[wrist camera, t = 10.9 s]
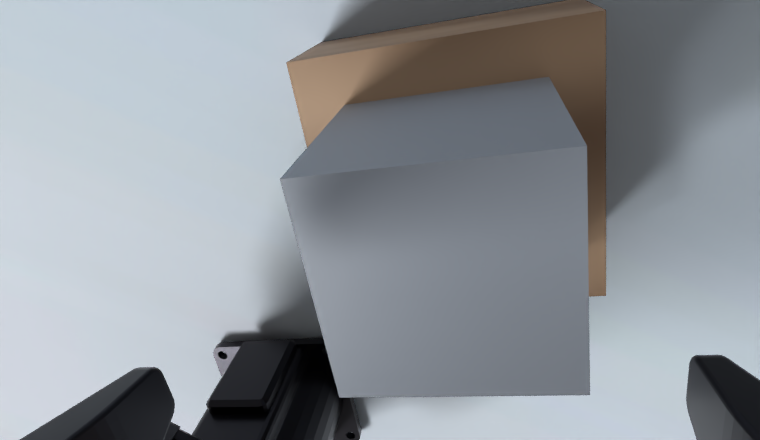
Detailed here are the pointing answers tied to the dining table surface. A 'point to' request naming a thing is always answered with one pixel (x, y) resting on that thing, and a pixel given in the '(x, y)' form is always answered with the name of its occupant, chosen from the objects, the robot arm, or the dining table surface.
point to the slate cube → (449, 243)
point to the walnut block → (475, 78)
